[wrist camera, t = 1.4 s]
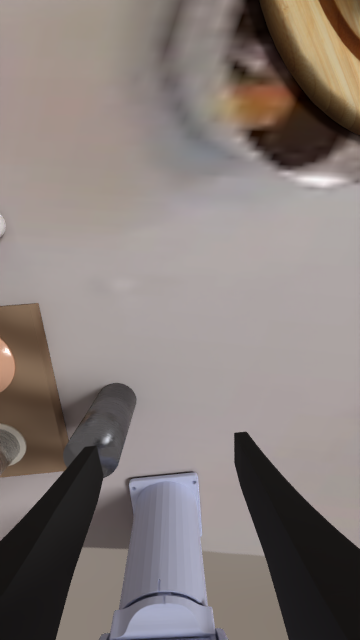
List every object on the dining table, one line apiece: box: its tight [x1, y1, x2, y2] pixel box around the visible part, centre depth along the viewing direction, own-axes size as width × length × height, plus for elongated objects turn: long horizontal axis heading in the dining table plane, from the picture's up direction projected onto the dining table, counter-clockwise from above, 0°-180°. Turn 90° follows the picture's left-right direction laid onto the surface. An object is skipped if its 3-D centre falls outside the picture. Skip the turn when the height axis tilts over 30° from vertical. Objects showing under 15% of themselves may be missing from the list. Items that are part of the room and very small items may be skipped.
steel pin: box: [63, 383, 136, 478], centre depth 18 cm, size 4×4×7 cm
